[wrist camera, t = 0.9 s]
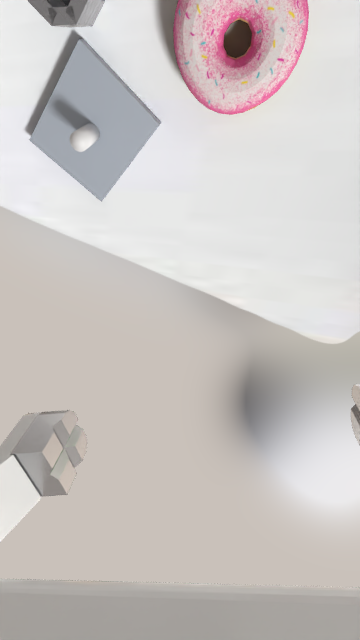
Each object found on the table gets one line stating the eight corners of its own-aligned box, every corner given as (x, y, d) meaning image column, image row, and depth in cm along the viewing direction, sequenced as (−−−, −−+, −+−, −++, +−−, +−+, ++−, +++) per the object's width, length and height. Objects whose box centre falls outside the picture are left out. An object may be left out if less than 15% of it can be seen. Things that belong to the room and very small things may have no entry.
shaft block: (83, 39, 36) (61, 38, 31) (161, 122, 40) (152, 133, 36) (34, 137, 44) (10, 149, 39) (104, 197, 48) (90, 215, 43)
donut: (153, 45, 36) (145, 45, 32) (241, -104, 28) (243, -125, 24) (233, 134, 41) (233, 144, 37) (325, 29, 33) (338, 28, 29)
